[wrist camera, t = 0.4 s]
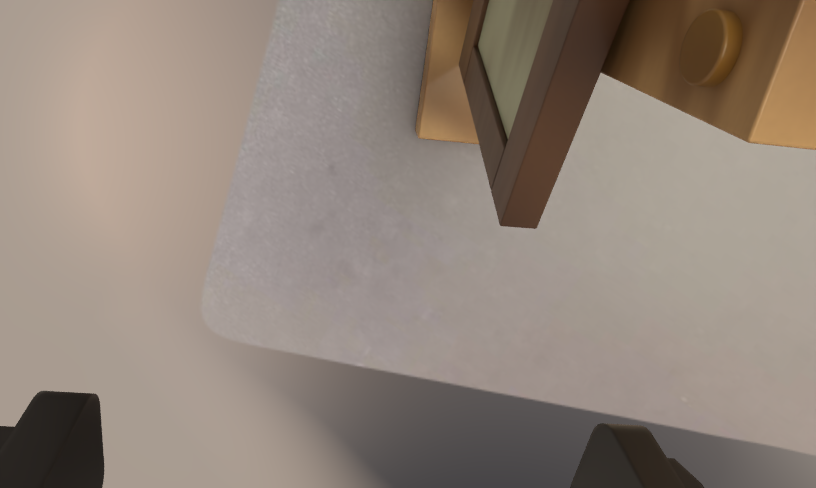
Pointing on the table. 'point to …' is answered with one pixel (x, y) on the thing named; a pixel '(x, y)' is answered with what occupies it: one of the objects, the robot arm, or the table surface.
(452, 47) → the stand
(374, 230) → the table surface
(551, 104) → the frame
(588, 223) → the table surface
